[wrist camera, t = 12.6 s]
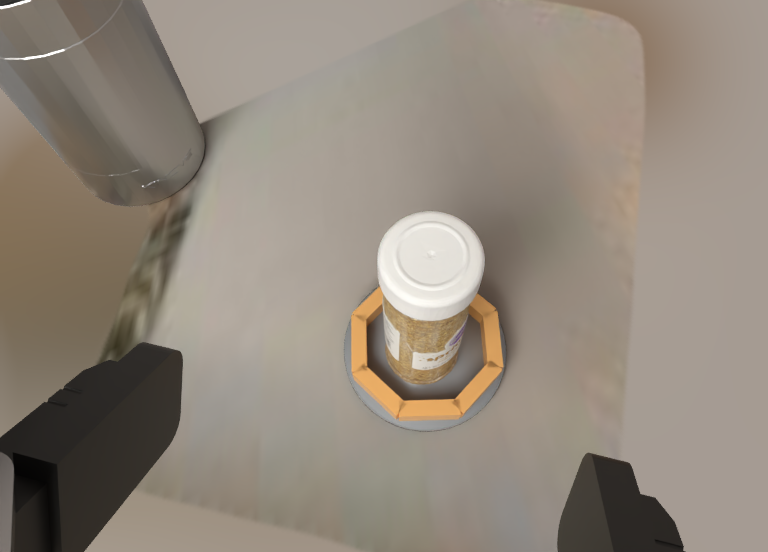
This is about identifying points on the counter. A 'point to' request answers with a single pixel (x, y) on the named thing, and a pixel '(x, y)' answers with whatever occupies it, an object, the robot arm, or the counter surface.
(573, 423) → the counter surface
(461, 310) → the spice jar
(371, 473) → the counter surface
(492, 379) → the orange rimmed grey dish
